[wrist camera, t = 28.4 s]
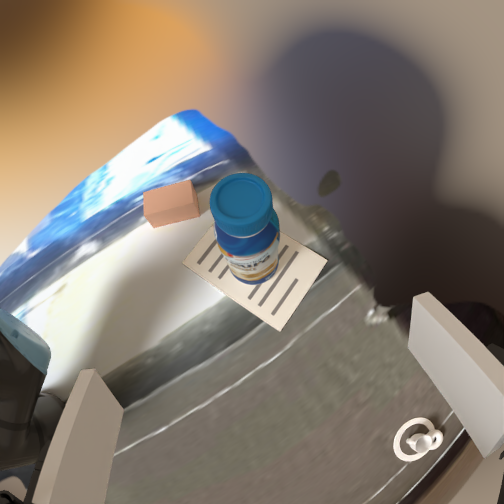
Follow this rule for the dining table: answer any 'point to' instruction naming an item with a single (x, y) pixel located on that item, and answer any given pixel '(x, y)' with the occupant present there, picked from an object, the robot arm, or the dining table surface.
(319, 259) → the letter
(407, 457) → the teacup and saucer
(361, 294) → the dining table surface
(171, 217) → the block
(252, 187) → the beverage bottle
